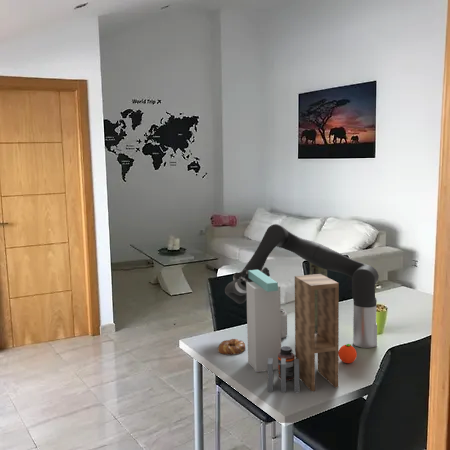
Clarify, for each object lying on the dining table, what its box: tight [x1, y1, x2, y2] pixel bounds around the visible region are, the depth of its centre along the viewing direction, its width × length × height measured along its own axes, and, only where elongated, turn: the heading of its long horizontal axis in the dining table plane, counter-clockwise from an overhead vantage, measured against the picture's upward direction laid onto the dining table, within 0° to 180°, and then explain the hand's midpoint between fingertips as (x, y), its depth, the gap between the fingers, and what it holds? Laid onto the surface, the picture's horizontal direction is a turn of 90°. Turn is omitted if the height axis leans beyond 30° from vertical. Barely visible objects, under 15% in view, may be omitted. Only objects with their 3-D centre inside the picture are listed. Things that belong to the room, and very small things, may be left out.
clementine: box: [338, 343, 358, 364], centre depth 194 cm, size 8×7×7 cm
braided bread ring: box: [217, 338, 246, 356], centre depth 210 cm, size 12×11×4 cm
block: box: [248, 270, 279, 292], centre depth 190 cm, size 22×4×3 cm, turn 15°
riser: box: [246, 282, 282, 373], centre depth 192 cm, size 10×10×32 cm
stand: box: [294, 274, 340, 392], centre depth 177 cm, size 14×10×37 cm
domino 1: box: [267, 358, 274, 393], centre depth 174 cm, size 2×5×10 cm, turn 173°
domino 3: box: [293, 359, 300, 394], centre depth 173 cm, size 2×5×10 cm, turn 173°
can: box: [281, 308, 288, 339], centre depth 224 cm, size 8×8×12 cm
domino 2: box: [280, 358, 287, 393], centre depth 174 cm, size 2×5×10 cm, turn 173°
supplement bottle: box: [277, 345, 295, 382], centre depth 182 cm, size 6×6×11 cm
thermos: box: [309, 262, 328, 334], centre depth 229 cm, size 9×12×35 cm
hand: (255, 270), depth 197 cm, fingers open, 8 cm apart
